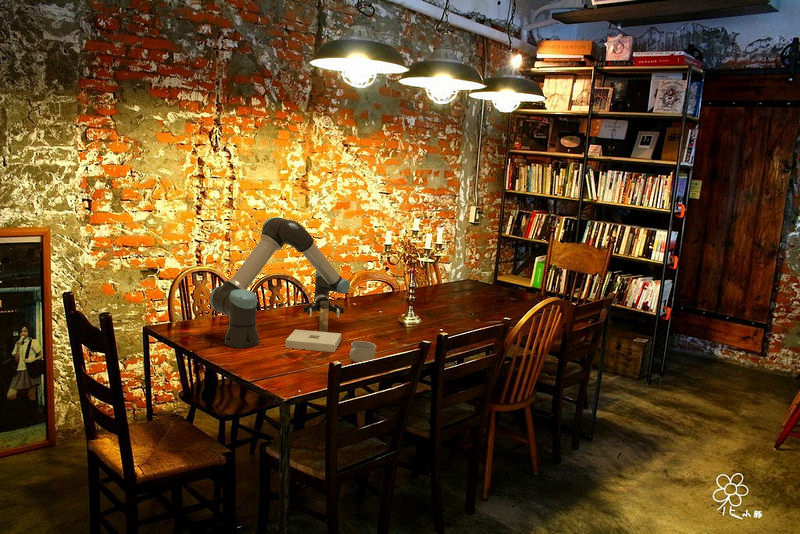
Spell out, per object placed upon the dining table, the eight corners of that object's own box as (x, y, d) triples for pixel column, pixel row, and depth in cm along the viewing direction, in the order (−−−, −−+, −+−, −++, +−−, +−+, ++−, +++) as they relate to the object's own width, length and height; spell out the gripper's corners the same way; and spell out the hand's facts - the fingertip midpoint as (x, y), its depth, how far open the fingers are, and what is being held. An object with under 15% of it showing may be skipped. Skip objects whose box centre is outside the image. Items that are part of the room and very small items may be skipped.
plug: (318, 334, 302) (319, 302, 300) (320, 332, 306) (321, 300, 303) (326, 335, 302) (327, 302, 299) (328, 333, 306) (329, 301, 303)
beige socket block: (285, 347, 279) (285, 340, 278) (294, 336, 296) (295, 329, 296) (334, 352, 277) (334, 344, 277) (340, 340, 295) (341, 333, 295)
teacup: (363, 356, 274) (364, 339, 273) (380, 363, 267) (381, 345, 266) (339, 362, 265) (340, 344, 263) (355, 369, 257) (356, 351, 256)
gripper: (346, 311, 322) (350, 322, 301) (297, 310, 318) (298, 321, 297) (347, 297, 321) (350, 307, 300) (298, 295, 316) (298, 306, 296)
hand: (324, 314), depth 298 cm, fingers open, 12 cm apart
